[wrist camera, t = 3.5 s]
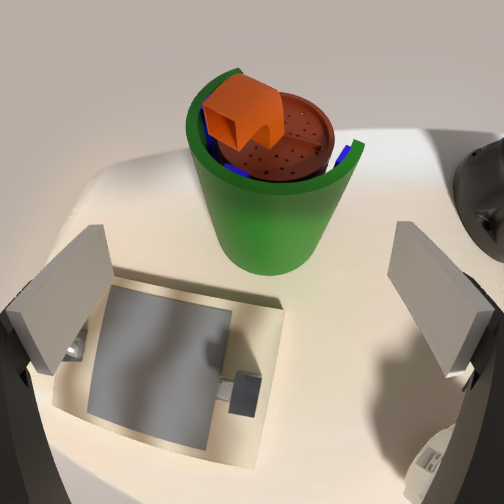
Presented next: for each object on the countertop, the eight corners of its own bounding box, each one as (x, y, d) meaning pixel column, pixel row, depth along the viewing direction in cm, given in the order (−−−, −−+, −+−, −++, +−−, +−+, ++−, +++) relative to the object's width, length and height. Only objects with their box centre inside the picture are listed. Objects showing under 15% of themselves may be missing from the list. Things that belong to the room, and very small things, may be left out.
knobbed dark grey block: (97, 334, 27) (77, 330, 24) (91, 365, 26) (71, 365, 23) (72, 325, 28) (51, 320, 24) (66, 355, 27) (44, 354, 23)
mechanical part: (439, 518, 21) (493, 559, 9) (371, 487, 23) (421, 541, 12) (495, 439, 23) (563, 454, 12) (437, 397, 26) (512, 409, 14)
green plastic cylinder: (330, 215, 32) (400, 59, 13) (293, 294, 29) (351, 190, 10) (241, 175, 33) (224, 6, 14) (198, 246, 31) (120, 102, 12)
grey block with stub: (261, 374, 26) (262, 378, 23) (255, 408, 25) (254, 417, 22) (225, 367, 26) (219, 370, 23) (218, 401, 25) (212, 409, 22)
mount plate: (284, 311, 29) (285, 310, 28) (254, 465, 25) (253, 470, 23) (84, 270, 31) (77, 267, 29) (58, 403, 26) (51, 405, 25)
